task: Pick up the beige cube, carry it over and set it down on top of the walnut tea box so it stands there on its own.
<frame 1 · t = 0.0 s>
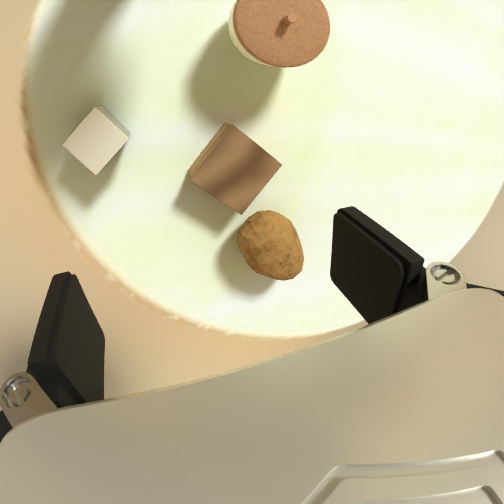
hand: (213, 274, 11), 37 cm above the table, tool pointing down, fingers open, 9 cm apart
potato: (263, 234, 56), on the table
beige cube: (101, 134, 39), on the table
lidded bowl: (260, 30, 38), on the table
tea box: (228, 162, 47), on the table
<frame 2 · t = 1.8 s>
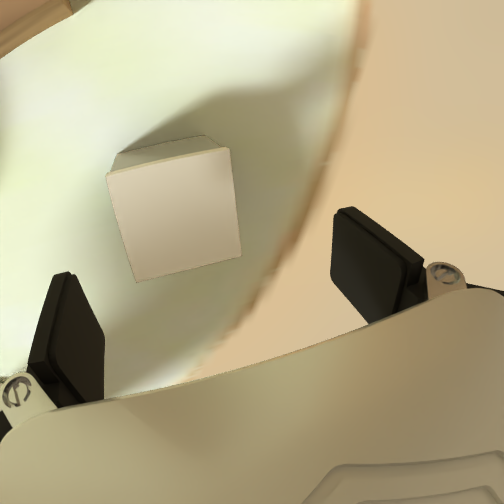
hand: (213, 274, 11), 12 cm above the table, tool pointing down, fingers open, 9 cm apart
beige cube: (168, 184, 21), on the table
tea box: (3, 1, 10), on the table
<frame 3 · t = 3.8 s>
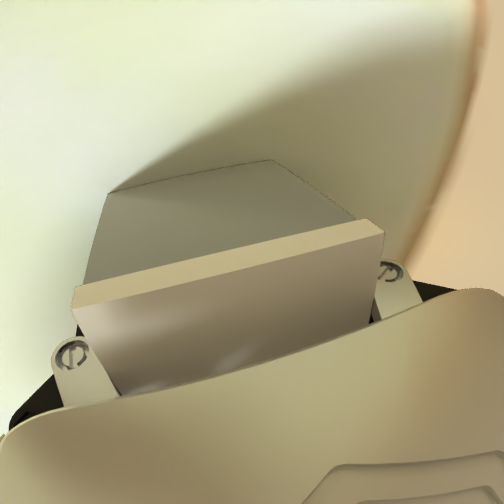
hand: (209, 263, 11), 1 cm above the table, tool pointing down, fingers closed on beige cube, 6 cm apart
beige cube: (203, 247, 12), on the table, touching gripper
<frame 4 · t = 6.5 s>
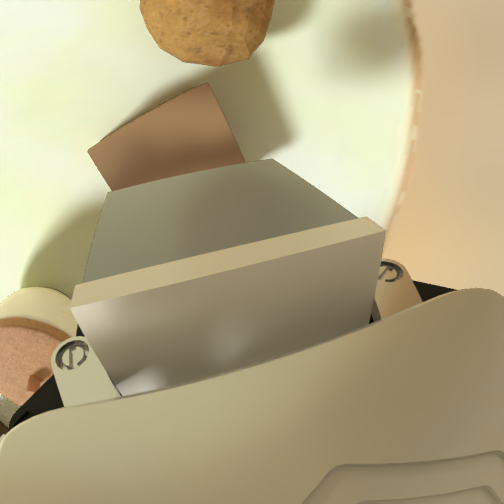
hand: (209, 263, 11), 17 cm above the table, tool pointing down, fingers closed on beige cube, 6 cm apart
beige cube: (203, 246, 12), point 16 cm above the table, touching gripper
lidded bowl: (50, 312, 29), on the table
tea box: (171, 155, 26), on the table
when the fingers open (6 cm above the table, at t = 9.3 s): beige cube stays where it is, point 5 cm above the table.
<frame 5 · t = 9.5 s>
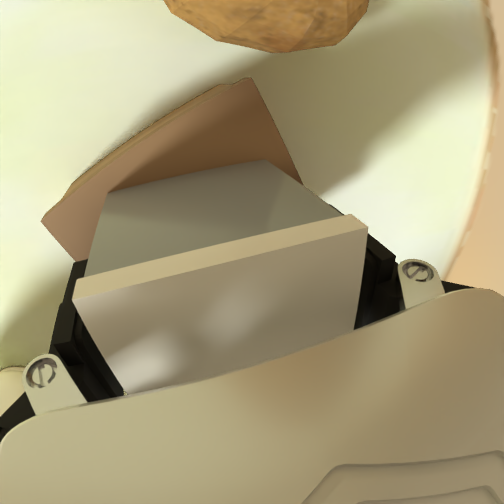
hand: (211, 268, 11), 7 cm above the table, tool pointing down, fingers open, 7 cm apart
beige cube: (199, 244, 13), point 5 cm above the table
lidded bowl: (33, 391, 20), on the table
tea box: (186, 198, 17), on the table
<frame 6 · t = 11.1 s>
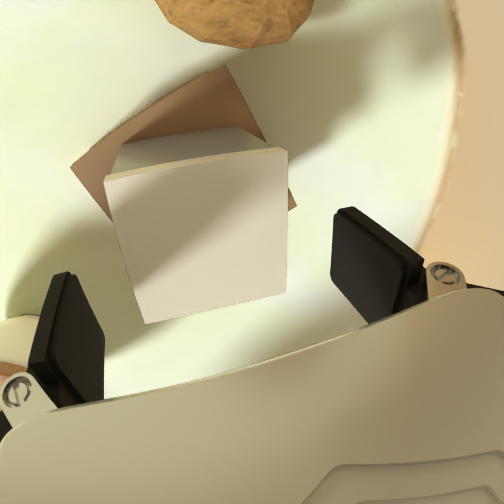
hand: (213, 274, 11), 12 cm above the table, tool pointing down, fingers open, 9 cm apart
beige cube: (186, 187, 17), point 5 cm above the table, touching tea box
lidded bowl: (40, 340, 24), on the table
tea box: (181, 160, 21), on the table, touching beige cube
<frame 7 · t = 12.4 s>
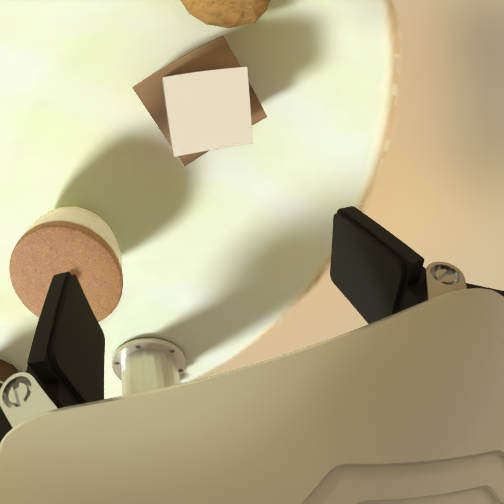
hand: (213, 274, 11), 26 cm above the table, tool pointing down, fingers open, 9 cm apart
beige cube: (197, 103, 27), point 5 cm above the table
lidded bowl: (77, 237, 35), on the table
beer bottle: (5, 371, 41), on the table
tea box: (194, 96, 31), on the table
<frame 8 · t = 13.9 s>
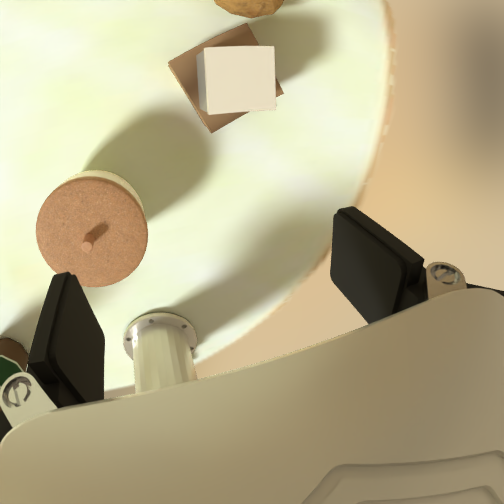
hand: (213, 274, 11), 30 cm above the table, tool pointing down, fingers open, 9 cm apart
beige cube: (225, 79, 30), point 5 cm above the table, touching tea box
lidded bowl: (100, 205, 37), on the table
beer bottle: (11, 350, 43), on the table
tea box: (218, 77, 34), on the table, touching beige cube
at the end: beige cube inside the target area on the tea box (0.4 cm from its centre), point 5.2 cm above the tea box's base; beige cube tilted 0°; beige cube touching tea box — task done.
